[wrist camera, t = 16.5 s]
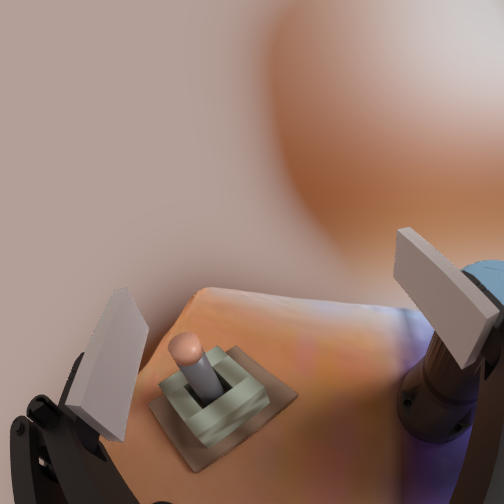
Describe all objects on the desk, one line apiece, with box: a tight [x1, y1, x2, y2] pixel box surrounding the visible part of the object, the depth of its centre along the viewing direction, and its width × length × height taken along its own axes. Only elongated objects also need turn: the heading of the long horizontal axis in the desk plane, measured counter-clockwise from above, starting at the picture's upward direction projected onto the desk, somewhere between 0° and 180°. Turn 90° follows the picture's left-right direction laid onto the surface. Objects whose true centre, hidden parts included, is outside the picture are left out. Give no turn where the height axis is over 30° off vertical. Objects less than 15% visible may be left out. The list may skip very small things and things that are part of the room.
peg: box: [168, 333, 226, 407], centre depth 36 cm, size 4×4×15 cm
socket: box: [148, 346, 298, 473], centre depth 38 cm, size 20×16×6 cm
